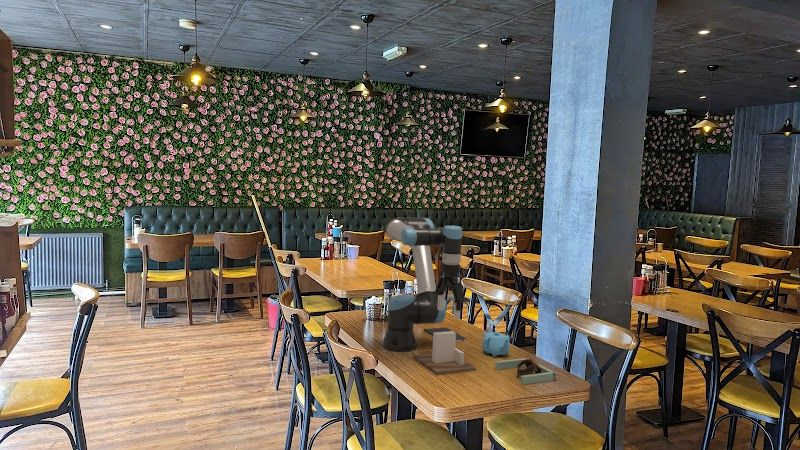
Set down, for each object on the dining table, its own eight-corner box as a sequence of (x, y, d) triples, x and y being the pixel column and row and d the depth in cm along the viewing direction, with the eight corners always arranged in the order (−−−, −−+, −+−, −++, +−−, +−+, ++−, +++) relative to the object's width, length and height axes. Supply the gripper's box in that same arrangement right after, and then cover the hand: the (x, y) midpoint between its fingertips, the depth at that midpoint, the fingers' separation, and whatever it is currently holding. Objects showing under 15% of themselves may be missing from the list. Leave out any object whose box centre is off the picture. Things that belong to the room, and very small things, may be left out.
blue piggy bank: (472, 350, 256) (473, 328, 255) (496, 346, 263) (497, 325, 262) (497, 362, 241) (499, 339, 240) (522, 358, 247) (524, 335, 247)
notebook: (424, 332, 285) (443, 344, 265) (424, 329, 285) (443, 340, 265) (446, 330, 290) (467, 341, 270) (446, 327, 290) (467, 338, 270)
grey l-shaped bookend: (426, 357, 239) (427, 329, 238) (448, 355, 243) (449, 327, 242) (441, 367, 227) (442, 338, 226) (463, 364, 231) (465, 336, 230)
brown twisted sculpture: (545, 383, 218) (537, 366, 216) (522, 391, 221) (514, 374, 219) (542, 366, 230) (534, 350, 228) (521, 373, 232) (513, 357, 230)
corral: (495, 368, 232) (495, 361, 232) (525, 364, 238) (526, 358, 238) (523, 384, 215) (523, 377, 214) (555, 380, 221) (556, 372, 221)
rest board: (412, 357, 241) (412, 355, 241) (449, 354, 249) (449, 351, 248) (436, 374, 221) (436, 372, 221) (475, 370, 229) (476, 367, 229)
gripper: (429, 258, 242) (426, 307, 244) (458, 268, 219) (455, 322, 221) (444, 258, 245) (441, 306, 247) (474, 268, 222) (471, 320, 224)
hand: (448, 314), depth 234 cm, fingers open, 13 cm apart
